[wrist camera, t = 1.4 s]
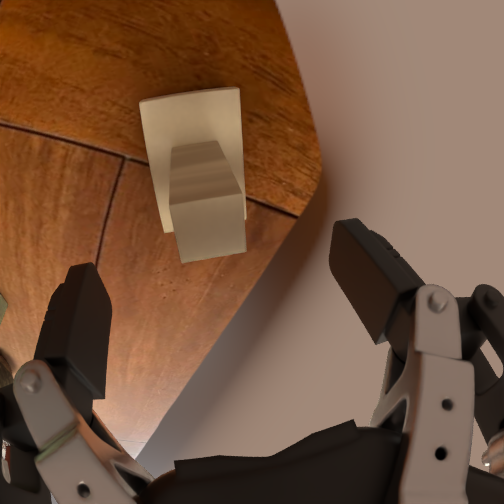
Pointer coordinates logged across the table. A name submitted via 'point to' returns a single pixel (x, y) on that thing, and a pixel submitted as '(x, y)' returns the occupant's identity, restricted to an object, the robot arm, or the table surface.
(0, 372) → the seashell
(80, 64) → the table surface
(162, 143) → the base with upright post
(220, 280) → the table surface
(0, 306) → the bin
